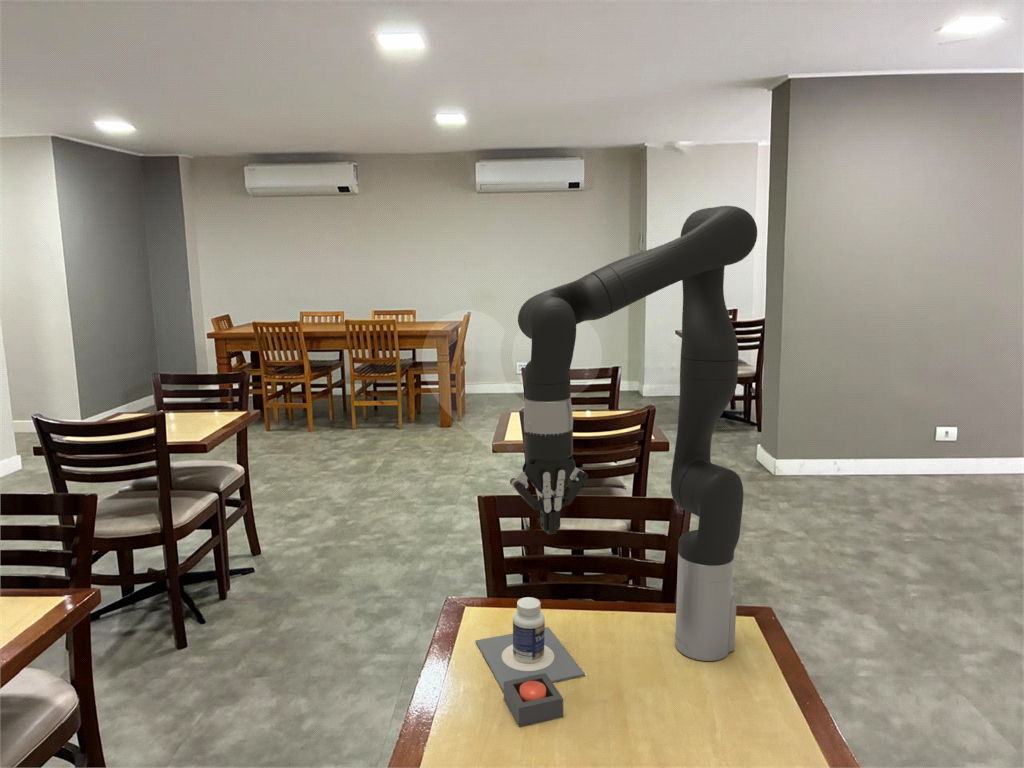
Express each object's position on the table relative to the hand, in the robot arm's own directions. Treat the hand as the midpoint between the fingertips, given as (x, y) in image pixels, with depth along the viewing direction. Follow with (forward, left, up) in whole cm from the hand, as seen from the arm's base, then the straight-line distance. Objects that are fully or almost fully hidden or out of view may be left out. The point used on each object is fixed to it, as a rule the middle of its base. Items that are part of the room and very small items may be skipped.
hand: (550, 531), depth 112 cm
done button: (+6, +7, -23) cm, 25 cm away
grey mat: (+2, -6, -25) cm, 25 cm away
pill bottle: (+2, -5, -24) cm, 25 cm away
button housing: (+6, +7, -25) cm, 26 cm away
